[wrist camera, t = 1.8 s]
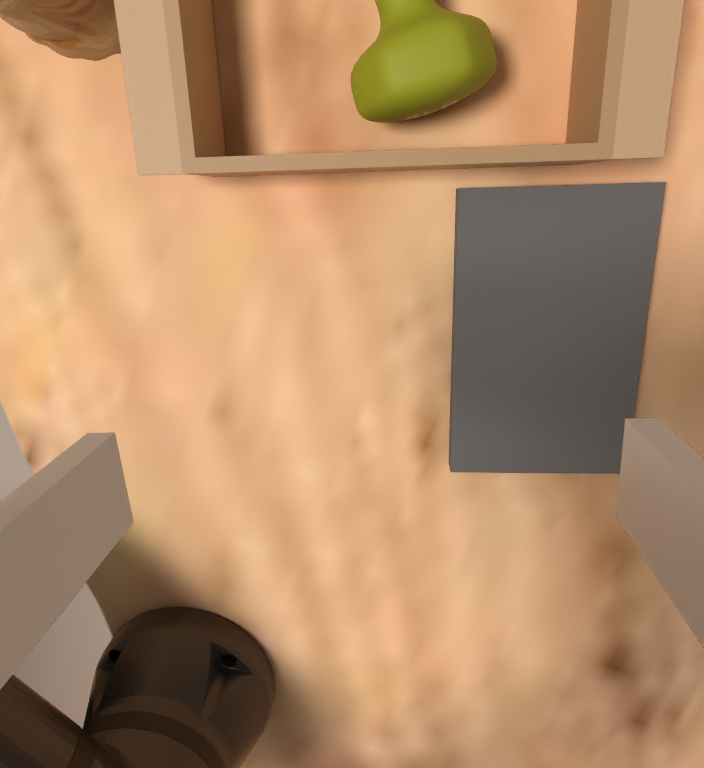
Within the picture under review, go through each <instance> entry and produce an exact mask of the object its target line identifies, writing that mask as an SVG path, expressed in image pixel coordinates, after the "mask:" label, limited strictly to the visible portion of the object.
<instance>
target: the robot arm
mask: <svg viewBox="0 0 704 768" xmlns="http://www.w3.org/2000/svg"><path fill="white" fill-rule="evenodd" d="M616 517H617V519H618V520H619V522H620V523H621V525H622V526H623V528H624V529H625V531H626V532H627V534H628V535H629V537H630V538H631V540H632V541H633V543H634V544H635V546H636V547H637V549H638V550H639V552H640V553H641V555H642V556H643V558H644V559H645V561H646V562H647V564H648V565H649V567H650V568H651V570H652V571H653V573H654V574H655V576H656V577H657V579H658V580H659V582H660V583H661V585H662V586H663V588H664V589H665V591H666V592H667V594H668V595H669V597H670V598H671V600H672V601H673V603H674V604H675V606H676V607H677V609H678V610H679V612H680V613H681V615H682V616H683V618H684V619H685V621H686V622H687V624H688V625H689V627H690V628H691V630H692V631H693V633H694V634H695V636H696V637H697V639H698V640H699V642H700V643H701V645H702V646H703V648H704V458H703V457H702V456H701V455H700V454H699V453H698V452H696V451H695V450H694V449H693V448H692V447H691V446H690V445H688V444H687V443H686V442H685V441H684V440H683V439H682V438H680V437H679V436H678V435H677V434H676V433H675V432H674V431H672V430H671V429H670V428H669V427H668V426H667V425H665V424H664V423H663V422H662V421H661V420H660V419H659V418H629V419H625V426H624V437H623V447H622V458H621V468H620V478H619V489H618V499H617V510H616ZM133 523H134V522H133V517H132V512H131V507H130V503H129V498H128V493H127V488H126V483H125V479H124V474H123V469H122V464H121V460H120V455H119V450H118V445H117V440H116V436H115V433H87V434H86V435H85V436H84V437H82V438H81V439H80V440H78V441H77V442H76V443H75V444H73V445H72V446H71V447H70V448H68V449H67V450H66V451H64V452H63V453H62V454H61V455H59V456H58V457H57V458H55V459H54V460H53V461H52V462H50V463H49V464H48V465H47V466H45V467H44V468H43V469H41V470H40V471H39V472H38V473H36V474H35V475H34V476H32V477H31V478H30V479H29V480H27V481H26V482H25V483H24V484H22V485H21V486H20V487H19V488H17V489H16V490H15V491H13V492H12V493H11V494H9V495H8V496H7V497H6V498H4V499H3V500H2V501H0V768H240V766H241V765H242V763H243V762H244V760H245V759H246V757H247V756H248V754H249V753H250V751H251V750H252V748H253V747H254V745H255V744H256V742H257V741H258V739H259V738H260V736H261V734H262V733H263V731H264V729H265V726H266V724H267V721H268V718H269V714H270V710H271V706H272V702H273V698H274V692H275V681H274V675H273V671H272V668H271V665H270V663H269V661H268V659H267V657H266V655H265V654H264V652H263V651H262V649H261V648H260V646H259V645H258V644H257V643H256V642H255V641H254V640H253V639H252V638H251V637H250V636H249V635H248V634H247V633H246V632H244V631H243V630H242V629H241V628H239V627H238V626H236V625H235V624H233V623H231V622H229V621H227V620H226V619H224V618H221V617H219V616H217V615H214V614H211V613H208V612H205V611H201V610H196V609H189V608H163V609H157V610H153V611H149V612H146V613H143V614H141V615H139V616H137V617H135V618H133V619H131V620H130V621H128V622H127V623H126V624H125V625H123V626H122V627H121V628H120V629H119V630H118V632H117V633H116V634H115V635H114V637H113V638H112V640H111V642H110V643H109V645H108V646H107V648H106V649H105V651H104V653H103V655H102V656H101V658H100V660H99V663H98V665H97V668H96V672H95V676H94V680H93V685H92V689H91V694H90V698H89V703H88V708H87V712H86V717H85V721H84V726H83V729H82V728H81V727H80V726H78V725H77V724H76V723H75V722H73V721H72V720H71V719H70V718H68V717H67V716H66V715H65V714H63V713H62V712H61V711H59V710H58V709H57V708H56V707H54V706H53V705H51V704H50V703H49V702H48V701H47V700H45V699H44V698H43V697H42V696H40V695H39V694H38V693H36V692H35V691H34V690H33V689H31V688H30V687H29V686H27V685H26V684H25V683H24V682H22V681H21V680H20V679H19V678H17V677H16V676H15V675H13V673H14V672H15V671H16V670H17V668H18V667H19V666H20V664H21V663H22V662H23V661H24V659H25V658H26V657H27V656H28V654H29V653H30V652H31V651H32V649H33V648H34V647H35V646H36V644H37V643H38V642H39V641H40V639H41V638H42V637H43V636H44V634H45V633H46V632H47V630H48V629H49V628H50V627H51V626H52V624H53V623H54V622H55V620H56V619H57V618H58V617H59V616H60V614H61V613H62V612H63V611H64V609H65V608H66V607H67V606H68V604H69V603H70V602H71V600H72V599H73V598H74V597H75V595H76V594H77V593H78V592H79V590H80V589H81V588H82V587H83V585H84V584H85V583H86V582H87V580H88V579H89V578H90V577H91V575H92V574H93V573H94V572H95V570H96V569H97V568H98V567H99V565H100V564H101V563H102V562H103V560H104V559H105V558H106V557H107V555H108V554H109V553H110V552H111V550H112V549H113V548H114V547H115V545H116V544H117V543H118V541H119V540H120V539H121V538H122V536H123V535H124V534H125V533H126V531H127V530H128V529H129V528H130V526H131V525H132V524H133Z"/></svg>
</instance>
